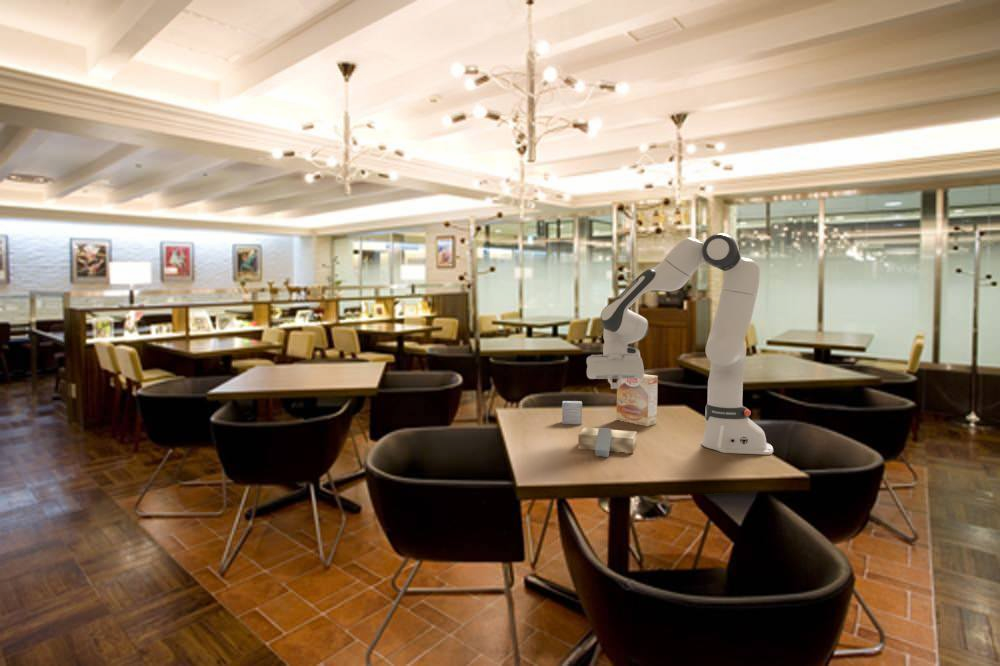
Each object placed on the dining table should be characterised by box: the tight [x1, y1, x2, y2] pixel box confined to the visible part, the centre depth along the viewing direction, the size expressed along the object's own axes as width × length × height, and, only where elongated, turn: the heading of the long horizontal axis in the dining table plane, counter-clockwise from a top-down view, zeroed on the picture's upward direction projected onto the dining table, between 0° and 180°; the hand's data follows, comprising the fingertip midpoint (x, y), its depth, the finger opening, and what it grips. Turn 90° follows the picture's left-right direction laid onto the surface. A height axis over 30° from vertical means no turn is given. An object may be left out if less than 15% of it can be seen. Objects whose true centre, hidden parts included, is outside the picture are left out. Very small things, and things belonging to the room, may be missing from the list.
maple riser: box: [577, 427, 638, 454], centre depth 195 cm, size 18×10×5 cm, turn 71°
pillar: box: [594, 427, 612, 458], centre depth 186 cm, size 4×4×9 cm
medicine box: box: [561, 400, 583, 425], centre depth 230 cm, size 8×4×9 cm, turn 84°
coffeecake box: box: [616, 373, 659, 427], centre depth 232 cm, size 15×7×20 cm, turn 43°
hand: (615, 388), depth 203 cm, fingers closed
